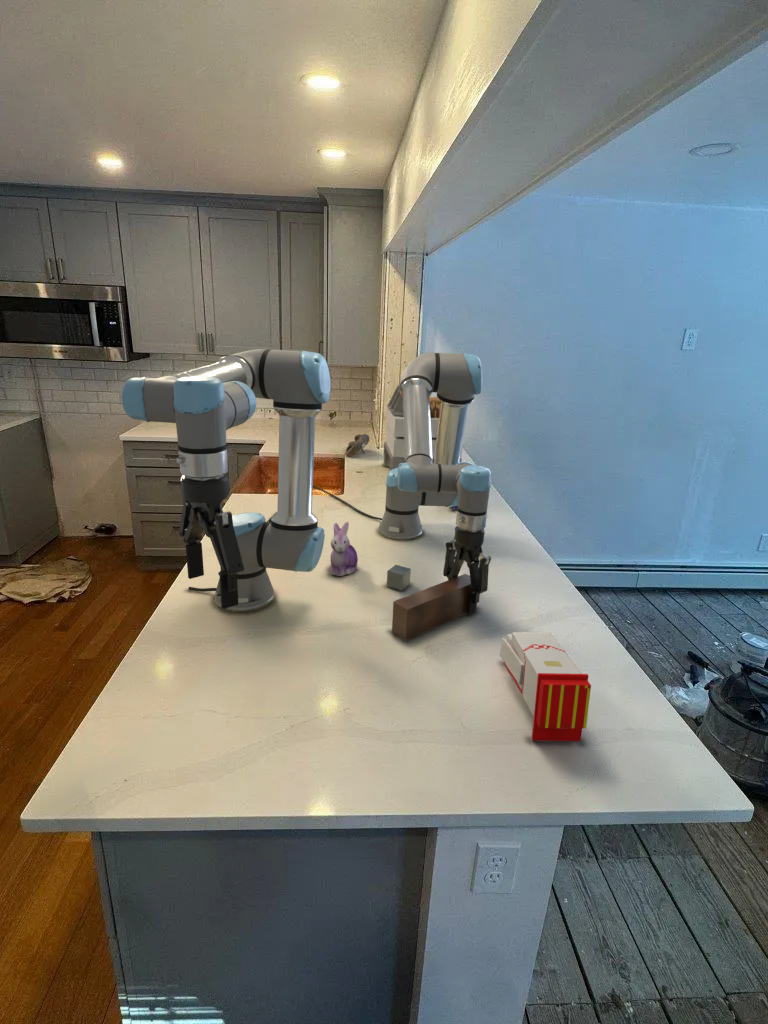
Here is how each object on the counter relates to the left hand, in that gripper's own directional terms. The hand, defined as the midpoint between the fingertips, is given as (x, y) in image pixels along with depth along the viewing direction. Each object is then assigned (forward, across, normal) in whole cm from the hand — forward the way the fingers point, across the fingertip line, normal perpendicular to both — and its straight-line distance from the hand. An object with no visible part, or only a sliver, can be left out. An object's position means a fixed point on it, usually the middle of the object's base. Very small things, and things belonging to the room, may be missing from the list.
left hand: (212, 590), depth 100 cm
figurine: (+27, -37, +57) cm, 73 cm away
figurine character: (+27, -58, +129) cm, 144 cm away
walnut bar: (+27, 0, +59) cm, 65 cm away
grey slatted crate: (+27, -102, +152) cm, 184 cm away
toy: (+27, +34, +54) cm, 69 cm away
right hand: (+26, 0, +69) cm, 74 cm away
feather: (+27, -89, +64) cm, 113 cm away
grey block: (+27, -20, +64) cm, 72 cm away
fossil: (+27, -149, +150) cm, 213 cm away
